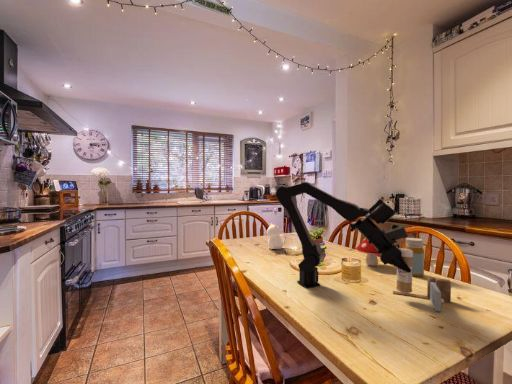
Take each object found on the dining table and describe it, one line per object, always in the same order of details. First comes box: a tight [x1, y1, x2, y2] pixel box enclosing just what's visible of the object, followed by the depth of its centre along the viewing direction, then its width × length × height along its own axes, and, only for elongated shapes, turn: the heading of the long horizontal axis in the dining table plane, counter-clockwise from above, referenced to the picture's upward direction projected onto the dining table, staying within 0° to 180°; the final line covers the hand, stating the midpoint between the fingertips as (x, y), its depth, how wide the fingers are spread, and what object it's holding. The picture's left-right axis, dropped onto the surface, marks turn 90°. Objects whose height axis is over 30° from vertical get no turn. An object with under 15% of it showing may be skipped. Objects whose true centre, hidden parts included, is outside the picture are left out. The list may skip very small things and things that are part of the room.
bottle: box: [404, 237, 425, 278], centre depth 107 cm, size 7×7×15 cm
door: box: [429, 282, 445, 313], centre depth 78 cm, size 9×2×6 cm, turn 155°
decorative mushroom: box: [355, 238, 380, 267], centre depth 119 cm, size 14×14×15 cm
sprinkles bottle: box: [395, 248, 413, 293], centre depth 83 cm, size 5×5×14 cm
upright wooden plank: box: [392, 276, 452, 303], centre depth 85 cm, size 16×2×7 cm, turn 65°
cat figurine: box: [266, 222, 287, 250], centre depth 151 cm, size 9×12×15 cm
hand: (409, 269), depth 82 cm, fingers closed on sprinkles bottle, 4 cm apart
